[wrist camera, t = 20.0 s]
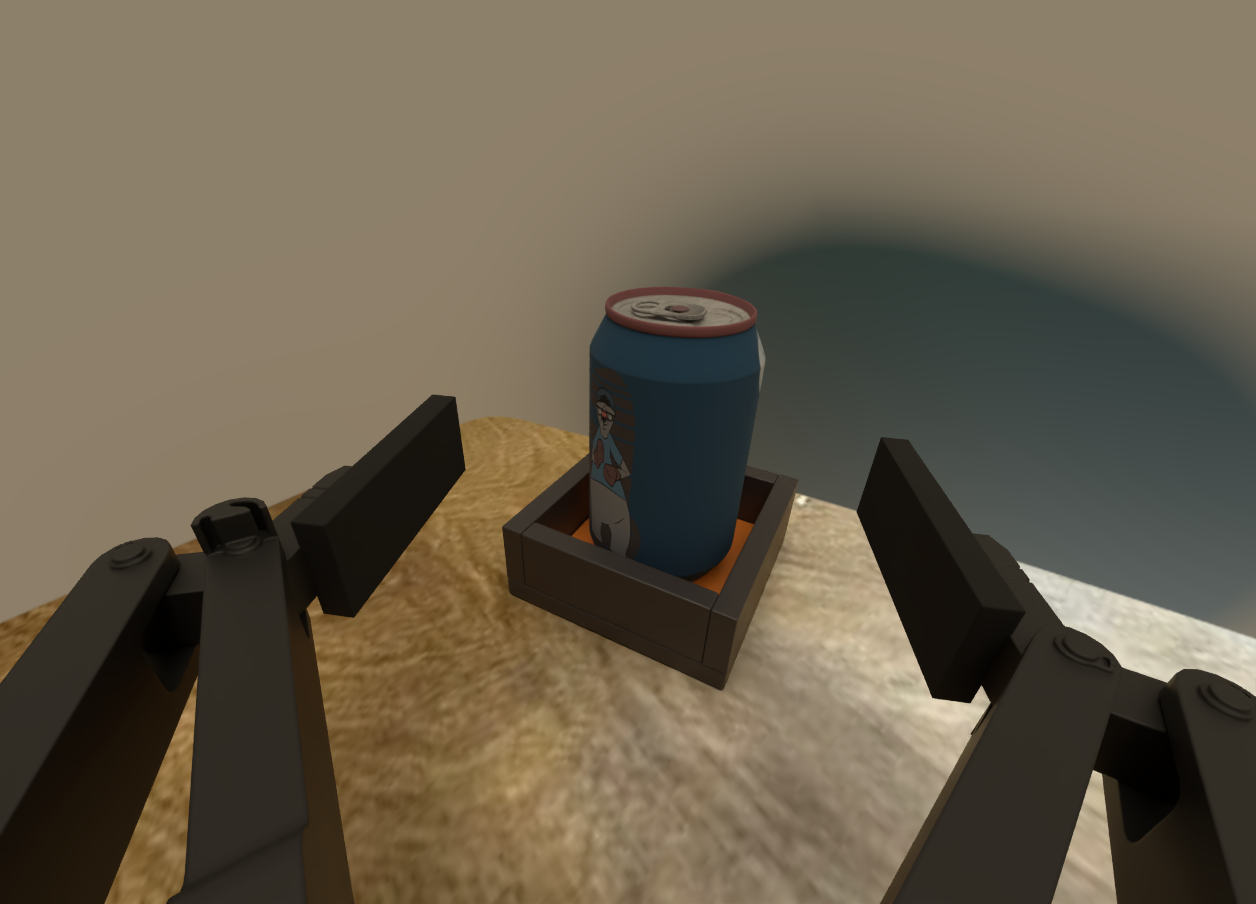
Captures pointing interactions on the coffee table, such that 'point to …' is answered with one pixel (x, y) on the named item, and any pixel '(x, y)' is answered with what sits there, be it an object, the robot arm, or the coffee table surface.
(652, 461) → the soda can
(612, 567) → the square wooden tray
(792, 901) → the coffee table surface
